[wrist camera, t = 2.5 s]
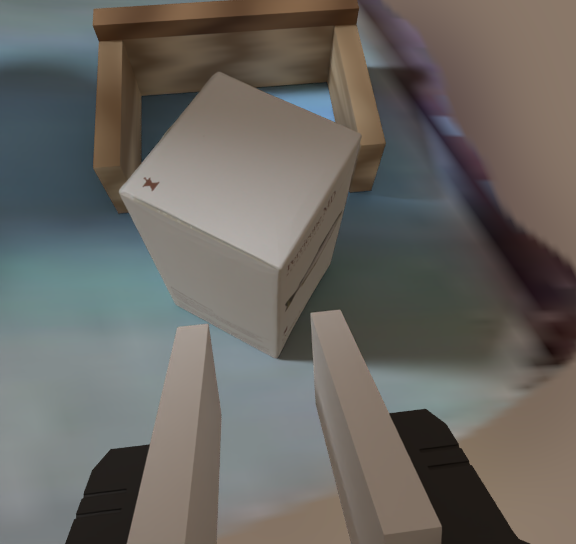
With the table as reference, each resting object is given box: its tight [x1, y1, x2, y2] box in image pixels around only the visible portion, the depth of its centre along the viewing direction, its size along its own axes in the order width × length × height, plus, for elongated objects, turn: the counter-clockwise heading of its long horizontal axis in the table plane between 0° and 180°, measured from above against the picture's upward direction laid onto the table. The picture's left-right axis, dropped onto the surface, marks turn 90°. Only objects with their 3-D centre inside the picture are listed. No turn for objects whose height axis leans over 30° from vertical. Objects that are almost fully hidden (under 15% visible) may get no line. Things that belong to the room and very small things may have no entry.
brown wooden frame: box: [93, 0, 386, 213], centre depth 33 cm, size 17×12×6 cm
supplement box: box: [119, 72, 362, 358], centre depth 25 cm, size 7×7×13 cm
